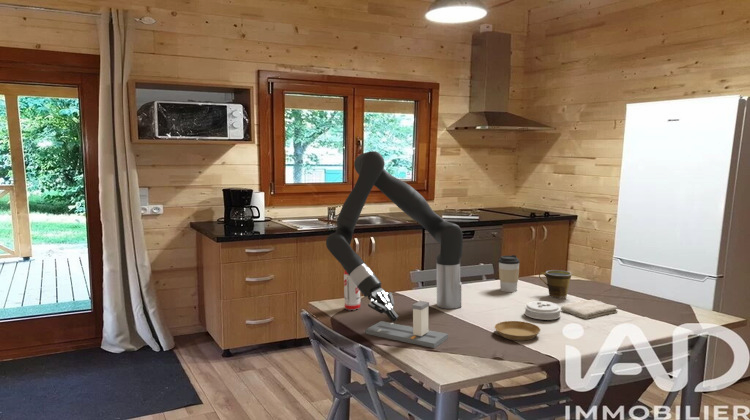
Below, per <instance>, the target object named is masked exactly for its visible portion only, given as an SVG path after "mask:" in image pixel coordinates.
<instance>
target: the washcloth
mask: <svg viewBox="0 0 750 420" xmlns="http://www.w3.org/2000/svg"><path fill="white" fill-rule="evenodd" d="M560 308H561V311H563V312H564V313H567V314H571V315H573V316H575V317H578V318H581V319H586V320H588V319H592V318H596V317H601V316H604V315H610V314H611V315H612V314H613V313H618V307H617V305H613V304H607V303H605V302H603V301H600V300H596V299H590V300H589V299H588V300H587V299H582V300H579V301H573V302H569V303H565V304H563V305H561V307H560Z"/></svg>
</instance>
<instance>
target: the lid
mask: <svg viewBox="0 0 750 420" xmlns="http://www.w3.org/2000/svg"><path fill="white" fill-rule="evenodd" d="M524 309H525V311H524V314H525V316H527V317H529V318H533V319H536V320H541V321H542V320H545V321H546V320H547V321H549V320H551V321H552V320H557V319H560V318H561V316H562V314H561V311H562V310H561V307H560V306H559V305H558V304H557V303H555V302H552V301H546V300H545V301H544V300H534V301H530V302H528V303H526V304H525V305H524Z"/></svg>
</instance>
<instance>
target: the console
mask: <svg viewBox="0 0 750 420" xmlns="http://www.w3.org/2000/svg"><path fill="white" fill-rule="evenodd" d="M428 331H429V332H427V333H426V334H424V335H423V336H418V335H413V326H409V325H403V324H398V323H394V322H387V321H383V320H380V321H378V322H377V323H375V324H373V325H371V326H370V327H368V328H366V329H365V334H366V335H368V336H369V335H370V336H375V337H379V338H384V339H389V340H393V341H398V342H404V343H408V344H413V345H417V346H422V347H427V348H432V349H435V348H437V347H438V346H439V345H441V344H442V343H444V342H446V340H448V339H449V333H445V332H440V331H434V330H430V329H428Z"/></svg>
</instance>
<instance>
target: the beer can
mask: <svg viewBox="0 0 750 420" xmlns="http://www.w3.org/2000/svg"><path fill="white" fill-rule="evenodd" d="M343 285H344V287H343V289H344V291H343V292H344V294H343V295H344V308H345V309H346V310H347V309H348V310H347V311H351V310H353V311H357V310H356V309H358V310H359V309H360V308H361V292H360V290H359V289H358V288H357V286H356V285H355V284H354V282H353V281H352V279H351V277H350V276H349V275H348V273H347V272H346V271H345V270H344V272H343Z"/></svg>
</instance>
